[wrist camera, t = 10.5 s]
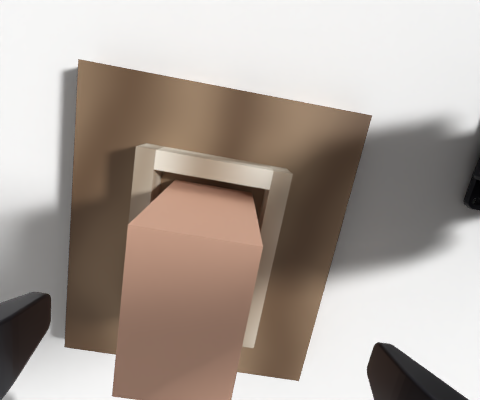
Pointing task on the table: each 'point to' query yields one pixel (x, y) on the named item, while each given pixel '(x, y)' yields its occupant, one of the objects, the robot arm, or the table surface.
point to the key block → (186, 294)
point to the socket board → (214, 174)
